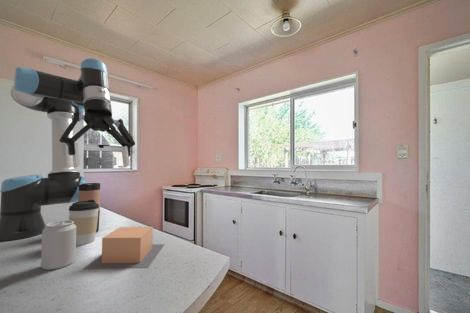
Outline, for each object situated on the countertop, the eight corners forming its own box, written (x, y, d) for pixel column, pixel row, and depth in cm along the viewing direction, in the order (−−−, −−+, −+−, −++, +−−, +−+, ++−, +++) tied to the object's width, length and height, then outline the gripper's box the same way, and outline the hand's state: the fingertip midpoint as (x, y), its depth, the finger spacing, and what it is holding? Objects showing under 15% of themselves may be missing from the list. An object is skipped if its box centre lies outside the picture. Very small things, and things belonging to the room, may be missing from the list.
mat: (114, 246, 74) (114, 245, 74) (164, 246, 75) (164, 244, 75) (82, 271, 57) (82, 269, 57) (147, 270, 58) (147, 267, 58)
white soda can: (36, 275, 55) (38, 227, 56) (45, 263, 62) (47, 220, 62) (72, 268, 59) (74, 224, 59) (77, 258, 65) (78, 218, 66)
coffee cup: (82, 249, 72) (83, 204, 72) (60, 247, 74) (61, 202, 74) (104, 240, 81) (105, 199, 81) (83, 238, 83) (84, 198, 83)
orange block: (119, 248, 71) (120, 227, 72) (152, 248, 72) (152, 226, 72) (101, 263, 61) (102, 238, 61) (140, 262, 61) (140, 237, 62)
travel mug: (102, 231, 91) (104, 183, 92) (82, 236, 85) (83, 185, 85) (93, 228, 95) (95, 182, 96) (73, 233, 89) (75, 184, 89)
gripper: (50, 87, 59) (53, 161, 54) (140, 106, 78) (148, 162, 73) (44, 100, 63) (46, 170, 58) (131, 115, 82) (138, 169, 77)
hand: (103, 166), depth 65 cm, fingers open, 13 cm apart
